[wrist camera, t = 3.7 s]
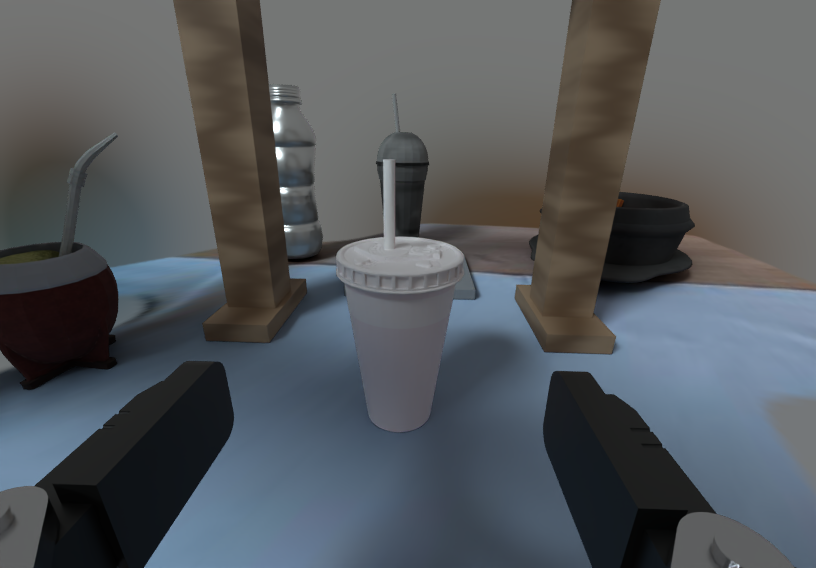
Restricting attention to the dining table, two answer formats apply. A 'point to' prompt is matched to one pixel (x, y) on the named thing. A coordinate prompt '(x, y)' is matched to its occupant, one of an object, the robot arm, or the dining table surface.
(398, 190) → the beverage cup
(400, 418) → the smoothie
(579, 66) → the archway
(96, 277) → the mate gourd
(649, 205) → the casserole
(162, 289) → the dining table surface
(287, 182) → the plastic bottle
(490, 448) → the dining table surface
